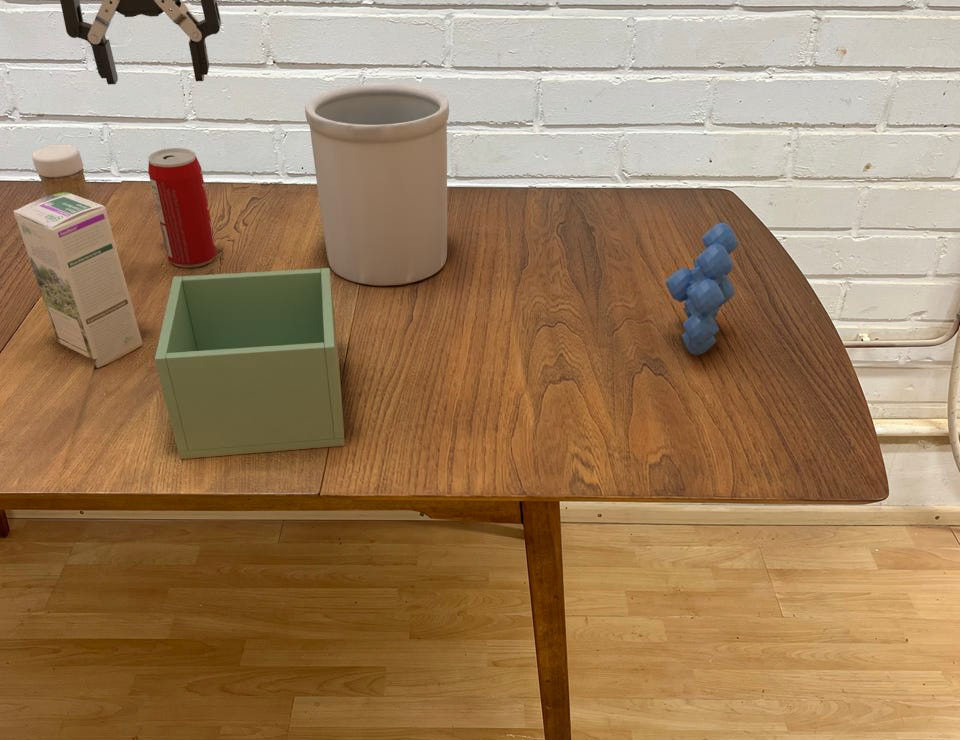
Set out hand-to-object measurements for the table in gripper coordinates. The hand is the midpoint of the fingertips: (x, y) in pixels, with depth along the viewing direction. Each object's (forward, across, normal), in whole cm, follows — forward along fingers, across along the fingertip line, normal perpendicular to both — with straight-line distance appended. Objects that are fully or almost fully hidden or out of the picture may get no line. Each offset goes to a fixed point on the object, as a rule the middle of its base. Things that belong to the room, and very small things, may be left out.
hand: (156, 80), depth 90 cm
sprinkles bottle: (+20, +11, +2) cm, 23 cm away
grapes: (+20, -51, +25) cm, 60 cm away
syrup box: (+20, +7, +19) cm, 28 cm away
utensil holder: (+20, -22, +3) cm, 30 cm away
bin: (+19, -9, +31) cm, 38 cm away
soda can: (+20, 0, 0) cm, 20 cm away
